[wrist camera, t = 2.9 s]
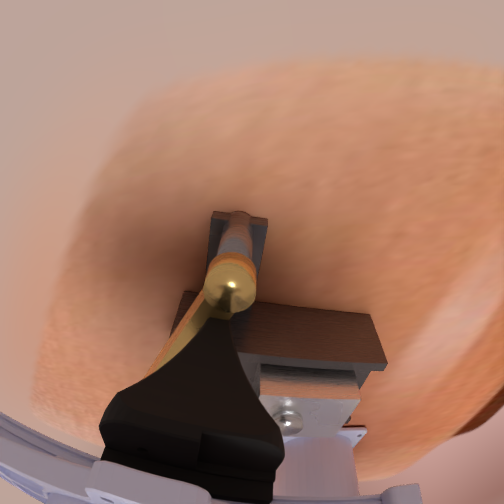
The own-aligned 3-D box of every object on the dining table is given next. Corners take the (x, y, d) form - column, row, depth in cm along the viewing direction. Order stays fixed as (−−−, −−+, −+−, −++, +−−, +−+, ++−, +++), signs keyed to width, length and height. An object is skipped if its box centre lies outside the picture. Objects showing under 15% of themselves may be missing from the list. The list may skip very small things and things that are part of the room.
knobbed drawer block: (329, 402, 18) (335, 445, 15) (249, 397, 18) (247, 442, 15) (351, 361, 16) (363, 408, 14) (260, 353, 16) (260, 404, 13)
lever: (165, 393, 16) (158, 423, 14) (135, 380, 16) (125, 409, 14) (266, 267, 12) (266, 301, 10) (222, 243, 11) (216, 274, 10)
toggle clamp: (338, 377, 21) (347, 423, 18) (182, 360, 21) (171, 408, 17) (401, 238, 16) (432, 281, 12) (189, 203, 15) (168, 243, 12)
